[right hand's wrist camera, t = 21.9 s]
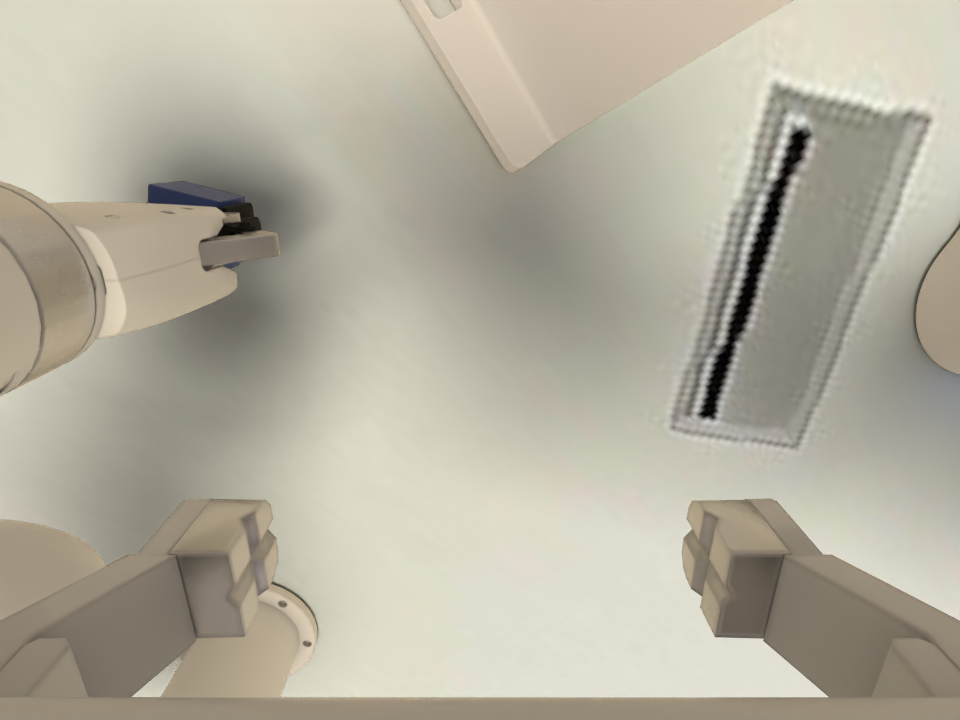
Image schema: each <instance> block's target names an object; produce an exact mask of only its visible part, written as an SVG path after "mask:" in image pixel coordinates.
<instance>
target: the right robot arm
mask: <svg viewBox="0 0 960 720" xmlns="http://www.w3.org/2000/svg"><path fill="white" fill-rule="evenodd" d="M916 328H917V333H918V337H919V340H920V342H921V344H922V346H923V348H924V350H925V351H926V353H927V354H928V355H929V357H930V358H931V359H932V360H933V361H934V362H935V363H937V364H938V365H939V366H941V367H942V368H944V369H946V370H948V371H950V372H953V373H956V374H959V375H960V228H959V229H958V231H957V232H956V234H955V235H954V236H953V238H952V239H951V240H950V241H949V243H948V244H947V245H946V246H945V247H944V249H943V250H942V251H941V252H940V254H939V255H938V256H937V258H936V259H935V261H934V262H933V264H932V266H931V267H930V269H929V271H928V273H927V275H926V277H925V279H924V281H923V284H922V286H921V289H920V292H919V296H918V300H917V306H916ZM272 520H273V515H272V510H271V505H270V504H269V503H268V502H267V501H266V500H238V499H215V500H214V499H189V500H186V501H183V502H182V503H181V504H180V505H179V507H178V508H177V509H176V510H175V511H174V512H173V513H172V515H171V516H170V517H169V518H168V519H167V520H166V522H165V523H164V524H163V525H162V526H161V527H160V528H159V530H158V531H157V532H156V533H155V534H154V535H153V537H152V538H151V539H150V540H149V541H148V542H147V543H146V545H145V546H144V547H143V548H142V549H141V550H140V552H139V553H138V554H137V555H127V556H125V557H123V558H121V559H119V560H117V561H115V562H113V563H111V564H109V565H107V566H105V567H104V568H102V569H100V570H98V571H96V572H94V573H92V574H90V575H88V576H86V577H84V578H82V579H80V580H78V581H76V582H74V583H72V584H70V585H69V586H67V587H65V588H63V589H61V590H59V591H57V592H55V593H53V594H51V595H49V596H47V597H45V598H43V599H41V600H39V601H37V602H36V603H34V604H32V605H30V606H28V607H26V608H24V609H22V610H20V611H18V612H16V613H14V614H12V615H10V616H8V617H6V618H4V619H2V620H1V621H0V720H960V621H959V620H957V619H955V618H953V617H951V616H949V615H947V614H946V613H944V612H942V611H940V610H938V609H936V608H934V607H932V606H930V605H928V604H926V603H924V602H922V601H920V600H918V599H916V598H915V597H913V596H911V595H909V594H907V593H905V592H903V591H901V590H899V589H897V588H895V587H893V586H891V585H889V584H887V583H885V582H884V581H882V580H880V579H878V578H876V577H874V576H872V575H870V574H868V573H866V572H864V571H862V570H860V569H858V568H856V567H854V566H853V565H851V564H849V563H847V562H845V561H843V560H841V559H839V558H837V557H835V556H833V555H823V554H822V553H821V552H820V550H819V549H818V548H817V547H816V546H815V545H814V543H813V542H812V541H811V540H810V539H809V538H808V537H807V535H806V534H805V533H804V532H803V531H802V530H801V528H800V527H799V526H798V525H797V524H796V523H795V522H794V520H793V519H792V518H791V517H790V516H789V515H788V514H787V512H786V511H785V510H784V509H783V508H782V507H781V505H780V504H779V503H778V502H777V501H775V500H773V499H745V500H710V501H692V502H691V504H690V506H689V509H688V515H687V520H688V522H689V524H690V525H691V527H692V530H691V531H690V532H689V533H688V534H687V535H686V536H685V537H684V539H683V547H682V560H683V568H684V572H685V575H686V579H687V581H688V583H689V585H690V587H691V589H692V590H694V591H695V592H697V593H698V594H699V595H701V596H702V600H701V606H700V608H701V610H702V612H703V614H704V616H705V618H706V620H707V622H708V624H709V626H710V628H711V630H712V632H713V634H714V636H715V637H729V638H764V640H763V641H764V642H765V643H767V644H768V645H769V646H770V647H771V648H772V649H774V650H775V651H776V652H777V653H778V654H779V655H781V656H782V657H783V658H784V659H785V660H786V661H788V662H789V663H790V664H791V665H792V666H793V667H795V668H796V669H797V670H798V671H799V672H800V673H802V674H803V675H804V676H805V677H806V678H807V679H809V680H810V681H811V682H812V683H813V684H814V685H816V686H817V687H818V688H819V689H820V690H821V691H823V692H824V693H825V694H826V695H827V696H829V697H830V698H557V697H261V698H182V697H132V696H133V695H134V694H135V693H136V692H137V691H139V690H140V689H141V688H142V687H143V686H145V685H146V684H147V683H148V682H149V681H150V680H152V679H153V678H154V677H155V676H156V675H157V674H159V673H160V672H161V671H162V670H163V669H164V668H166V667H167V666H168V665H169V664H170V663H171V662H173V661H174V660H175V659H176V658H177V657H178V656H180V655H181V654H182V653H183V652H184V651H185V650H187V649H188V648H189V647H190V646H191V645H193V644H194V643H195V642H196V638H229V637H245V636H246V634H247V632H248V630H249V628H250V626H251V624H252V622H253V620H254V618H255V616H256V614H257V612H258V610H259V608H260V606H259V600H258V596H259V595H261V594H262V593H263V592H265V591H266V590H268V589H269V587H270V585H271V583H272V581H273V578H274V576H275V571H276V567H277V562H278V546H277V539H276V537H275V536H274V535H273V534H272V533H271V532H270V531H269V530H268V527H269V525H270V524H271V522H272Z"/></svg>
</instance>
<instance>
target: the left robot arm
mask: <svg viewBox="0 0 960 720" xmlns="http://www.w3.org/2000/svg"><path fill="white" fill-rule="evenodd" d="M215 236H218V237H215ZM279 255H280V246H279V238H278V233H276V232H270V231H264V230H261V224H260V220H259V219H258V217H254V213H253V207H252V204H251V203H238V204H233V205H228V206H223V207H219V208H216V207H208V206H191V205H174V204H154V203H128V202H63V203H47V202H45V201H43V200H42V199H40V198H38V197H37V196H35V195H34V194H32V193H30V192H28V191H26V190H24V189H21V188H18V187H16V186H13V185H11V184H8V183H4V182H1V181H0V396H2V395H3V394H6V393H8V392H10V391H12V390H14V389H16V388H18V387H20V386H22V385H24V384H26V383H28V382H30V381H32V380H34V379H36V378H38V377H40V376H42V375H44V374H46V373H48V372H50V371H52V370H54V369H56V368H58V367H60V366H61V365H63V364H65V363H68V362H70V361H72V360H73V359H75V358H77V357H78V356H79V355H81V354H82V353H83V352H84V351H86V350H87V349H88V347H89V346H90V345H91V344H92V343H93V342H94V340H95V339H102V338H108V337H113V336H118V335H122V334H126V333H130V332H134V331H137V330H141V329H144V328H148V327H151V326H154V325H157V324H160V323H163V322H166V321H169V320H172V319H174V318H177V317H180V316H182V315H185V314H187V313H190V312H192V311H194V310H197V309H199V308H202V307H204V306H206V305H208V304H211V303H213V302H215V301H217V300H219V299H221V298H224V297H226V296H228V295H229V294H231V293H232V292H233V291H234V290H235V289H236V288H237V273H236V272H235V271H233V270H231V269H229V268H226V267H224V266H220V265H224V264H228V263H232V262H238V261H245V260H252V259H259V258H266V257H273V256H279ZM213 267H214V268H213ZM105 566H107V565H106V564H105V562H104V561H103V559H102V558H101V556H100V555H99V554H98V553H97V552H95V551H94V550H93V549H92V548H91V547H90V546H88V545H87V544H86V543H84V542H83V541H82V540H80V539H79V538H77V537H75V536H73V535H71V534H69V533H66V532H63V531H59V530H56V529H53V528H50V527H47V526H44V525H39V524H33V523H28V522H22V521H14V520H6V519H0V621H1V620H2V619H4V618H6V617H8V616H10V615H12V614H14V613H16V612H18V611H20V610H22V609H24V608H26V607H28V606H30V605H32V604H34V603H36V602H37V601H39V600H41V599H43V598H45V597H47V596H49V595H51V594H53V593H55V592H57V591H59V590H61V589H63V588H65V587H67V586H69V585H70V584H72V583H74V582H76V581H78V580H80V579H82V578H84V577H86V576H88V575H90V574H92V573H94V572H96V571H98V570H100V569H102V568H104V567H105ZM258 600H259V606H260V608H259V610H258V612H257V614H256V616H255V618H254V620H253V622H252V624H251V626H250V628H249V630H248V632H247V634H246V636H245V637H229V638H196V642H195V643H194V644H193V645H191V646H190V647H189V648H188V649H187V650H185V651H184V652H183V653H182V654H181V655H180V656H178V657H177V658H181V659H182V662H181V664H180V665H179V667H178V669H177V670H176V672H175V674H174V676H173V677H172V679H171V681H170V682H169V684H168V686H167V687H166V689H165V691H164V692H163V694H162V696H161V697H182V698H261V697H281V694H282V692H283V689H284V686H285V684H286V681H287V678H288V675H291V674H293V673H295V672H296V671H298V670H299V669H301V668H302V667H303V666H304V665H305V664H306V663H307V662H308V661H309V659H310V658H311V656H312V654H313V652H314V649H315V646H316V642H317V637H318V632H317V625H316V622H315V619H314V617H313V615H312V613H311V612H310V610H309V608H308V607H307V606H306V605H305V604H304V603H303V602H302V601H301V600H300V599H299V598H297V597H296V596H295V595H294V594H292V593H290V592H289V591H287V590H285V589H283V588H281V587H278V586H276V585H273V584H271V585H270V587H269V589H268V590H266V591H265V592H263V593H262V594H261V595H259V596H258Z"/></svg>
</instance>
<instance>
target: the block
mask: <svg viewBox="0 0 960 720" xmlns="http://www.w3.org/2000/svg"><path fill="white" fill-rule="evenodd" d="M148 203H154V204H174V205H191V206H208V207H216V208H219V207H223V206H228V205H233V204H238V203H245V197H244V196H240V195H236V194H232V193H228V192H224V191H220V190H216V189H212V188H208V187H204V186H200V185H196V184H192V183H188V182H184V181H180V182H169V183H158V184H149V185H148ZM215 237H218V236H215ZM238 265H239V261H238V262H232V263H228V264H224V265H220V266H224V267H226V268H229V269H231V268H233V267H235V266H238ZM213 268H214V267H213Z"/></svg>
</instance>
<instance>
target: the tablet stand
mask: <svg viewBox="0 0 960 720" xmlns="http://www.w3.org/2000/svg"><path fill="white" fill-rule="evenodd" d="M791 1H793V0H451V2H452V3H453V5H454V7H455V9H456V11H454V12H452V13H451V14H449V15H447V16H445V17H443V18H441V19H437V18H435V17H434V15H433V14H432V12H431V11H430V9H429V7H428V6H427V4H426V2H425V1H424V0H401V2H402V4H403V5H404V7H405V8H406V10H407V12H408V13H409V15H410V17H411V18H412V20H413V21H414V23H415V25H416V26H417V28H418V30H419V31H420V33H421V34H422V36H423V38H424V39H425V41H426V43H427V44H428V46H429V47H430V49H431V51H432V52H433V54H434V56H435V57H436V59H437V60H438V62H439V64H440V65H441V67H442V69H443V70H444V72H445V73H446V75H447V77H448V78H449V80H450V82H451V83H452V85H453V86H454V88H455V90H456V91H457V93H458V95H459V96H460V98H461V99H462V101H463V103H464V104H465V106H466V108H467V109H468V111H469V113H470V114H471V116H472V117H473V119H474V121H475V122H476V124H477V126H478V127H479V129H480V130H481V132H482V134H483V135H484V137H485V139H486V140H487V142H488V143H489V145H490V147H491V148H492V150H493V152H494V153H495V155H496V156H497V158H498V160H499V161H500V163H501V165H502V166H503V168H504V169H505V170H506V171H508V172H512V173H513V172H516V171H518V170H520V169H521V168H523V167H525V166H526V165H527V164H529V163H530V162H531V161H533V160H534V159H535V158H536V157H538V156H539V155H540V154H542V153H543V152H544V151H546V150H547V149H548V148H550V147H551V146H552V145H554V144H555V143H557V142H558V141H560V140H562V139H563V138H565V137H567V136H568V135H570V134H572V133H573V132H575V131H577V130H578V129H580V128H582V127H583V126H585V125H587V124H588V123H590V122H592V121H593V120H595V119H597V118H598V117H600V116H602V115H603V114H605V113H607V112H608V111H610V110H612V109H613V108H615V107H617V106H618V105H620V104H622V103H623V102H625V101H627V100H628V99H630V98H632V97H633V96H635V95H637V94H638V93H640V92H642V91H643V90H645V89H647V88H648V87H650V86H652V85H653V84H655V83H657V82H658V81H660V80H662V79H663V78H665V77H667V76H668V75H670V74H672V73H673V72H675V71H677V70H678V69H680V68H682V67H683V66H685V65H687V64H688V63H690V62H692V61H693V60H695V59H697V58H698V57H700V56H701V55H703V54H705V53H706V52H708V51H710V50H711V49H713V48H715V47H716V46H718V45H720V44H721V43H723V42H725V41H726V40H728V39H730V38H731V37H733V36H735V35H736V34H738V33H740V32H741V31H743V30H745V29H746V28H748V27H750V26H751V25H753V24H755V23H756V22H758V21H760V20H761V19H763V18H765V17H766V16H768V15H770V14H771V13H773V12H775V11H776V10H778V9H780V8H781V7H783V6H785V5H786V4H788V3H790V2H791Z"/></svg>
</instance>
